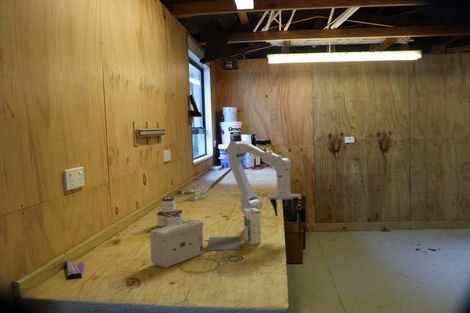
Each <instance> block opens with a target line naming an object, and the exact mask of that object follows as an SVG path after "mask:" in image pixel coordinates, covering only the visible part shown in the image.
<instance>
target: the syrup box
mask: <svg viewBox="0 0 470 313" xmlns="http://www.w3.org/2000/svg"><path fill="white" fill-rule="evenodd" d="M261 222H262V221H261V210H258V209H256V208H248V209H244V212H243V236H244V237H243V238H244V240H243V241H244V243H246V244H247V245H248V246H253V245H258V244H259V245H260V244H261V243H262V237H261V236H262V229H261V228H262V227H261V225H262V224H261Z"/></svg>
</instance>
